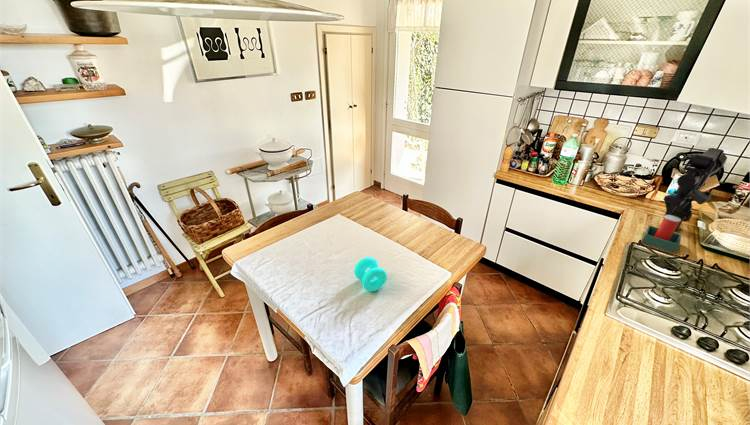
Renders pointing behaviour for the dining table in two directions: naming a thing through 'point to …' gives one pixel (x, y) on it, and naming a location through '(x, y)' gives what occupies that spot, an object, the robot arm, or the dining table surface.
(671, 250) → the bin
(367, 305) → the dining table surface
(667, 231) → the chip canister
